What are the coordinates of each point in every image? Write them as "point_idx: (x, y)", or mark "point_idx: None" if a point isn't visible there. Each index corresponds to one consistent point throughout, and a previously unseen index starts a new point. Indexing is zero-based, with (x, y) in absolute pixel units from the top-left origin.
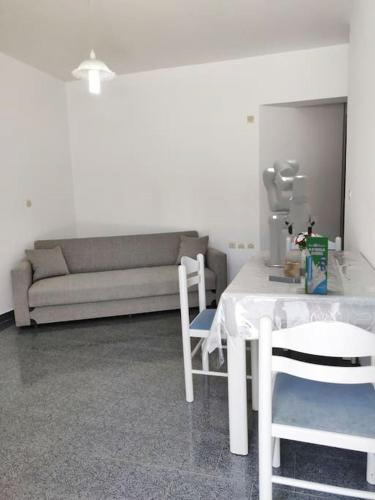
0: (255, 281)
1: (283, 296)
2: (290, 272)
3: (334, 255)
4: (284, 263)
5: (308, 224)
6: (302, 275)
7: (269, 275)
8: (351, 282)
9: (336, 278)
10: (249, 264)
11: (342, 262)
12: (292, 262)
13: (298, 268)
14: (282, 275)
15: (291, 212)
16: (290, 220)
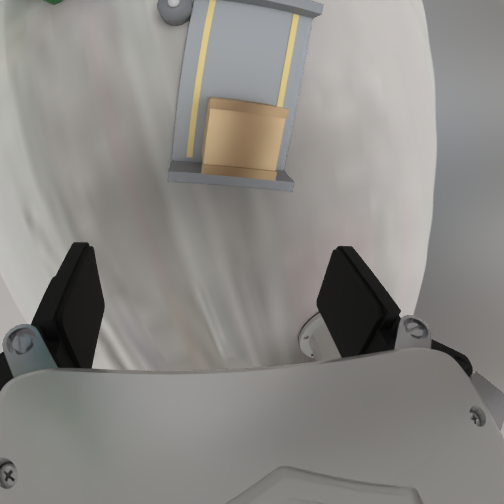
0: (367, 23)
1: None
2: (238, 100)
3: None
4: (285, 108)
5: (38, 363)
6: (190, 162)
7: (322, 8)
8: (6, 173)
9: (65, 214)
10: (414, 305)
11: None
12: (247, 162)
13: (204, 142)
14: (283, 133)
15: None
16: (452, 380)
